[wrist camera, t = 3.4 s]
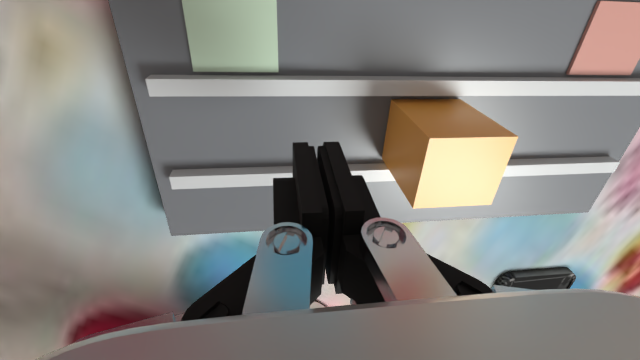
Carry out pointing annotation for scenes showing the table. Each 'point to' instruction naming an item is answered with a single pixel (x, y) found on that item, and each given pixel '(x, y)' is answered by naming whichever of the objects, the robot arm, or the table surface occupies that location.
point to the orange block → (445, 152)
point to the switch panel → (375, 95)
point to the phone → (538, 279)
